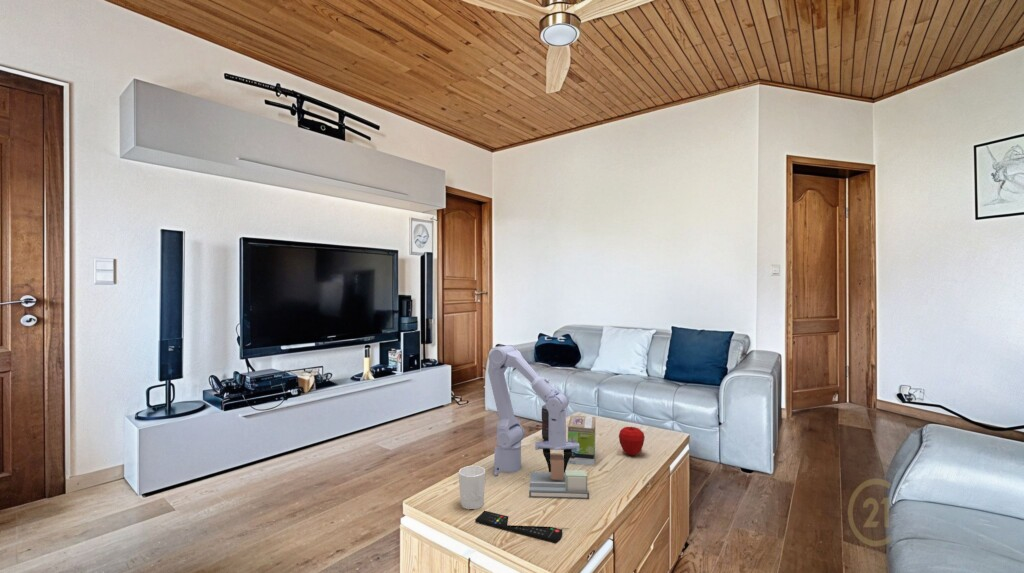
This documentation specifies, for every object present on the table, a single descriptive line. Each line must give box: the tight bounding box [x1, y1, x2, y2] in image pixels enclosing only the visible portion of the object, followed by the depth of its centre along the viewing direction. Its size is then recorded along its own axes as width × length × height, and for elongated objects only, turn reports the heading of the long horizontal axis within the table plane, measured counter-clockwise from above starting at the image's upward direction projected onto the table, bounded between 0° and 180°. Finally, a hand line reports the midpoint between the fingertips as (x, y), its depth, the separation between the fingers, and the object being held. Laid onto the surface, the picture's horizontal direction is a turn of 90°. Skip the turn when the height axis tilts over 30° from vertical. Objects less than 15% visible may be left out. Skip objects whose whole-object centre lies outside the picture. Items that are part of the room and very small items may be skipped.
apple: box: [618, 426, 646, 457], centre depth 169 cm, size 10×10×11 cm
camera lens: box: [541, 404, 549, 442], centre depth 182 cm, size 8×8×15 cm
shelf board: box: [528, 471, 590, 500], centre depth 140 cm, size 18×18×3 cm
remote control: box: [474, 510, 563, 544], centre depth 117 cm, size 5×24×1 cm, turn 65°
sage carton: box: [565, 469, 588, 492], centre depth 135 cm, size 6×4×6 cm, turn 86°
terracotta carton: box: [550, 452, 564, 480], centre depth 144 cm, size 6×4×6 cm, turn 176°
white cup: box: [458, 465, 486, 510], centre depth 130 cm, size 8×8×10 cm
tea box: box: [567, 415, 596, 466], centre depth 164 cm, size 15×10×15 cm, turn 168°
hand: (557, 471), depth 144 cm, fingers closed on terracotta carton, 4 cm apart
